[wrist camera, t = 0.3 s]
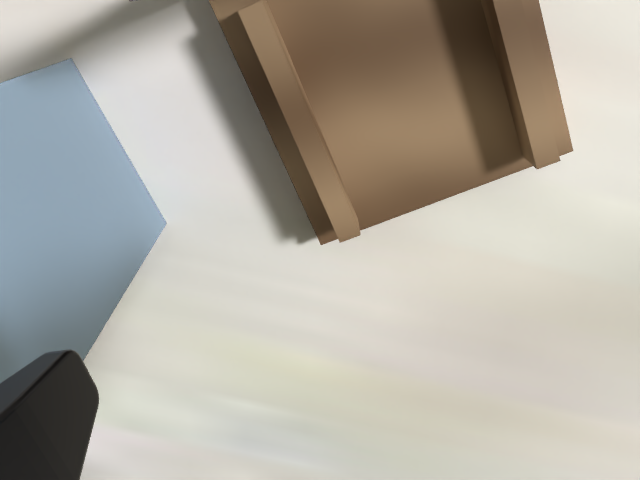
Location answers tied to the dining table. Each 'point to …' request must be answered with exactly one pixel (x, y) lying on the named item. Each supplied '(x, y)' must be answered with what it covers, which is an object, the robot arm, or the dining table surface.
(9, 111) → the blue angular block
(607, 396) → the dining table surface
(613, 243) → the dining table surface
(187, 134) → the dining table surface
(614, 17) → the dining table surface
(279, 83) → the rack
